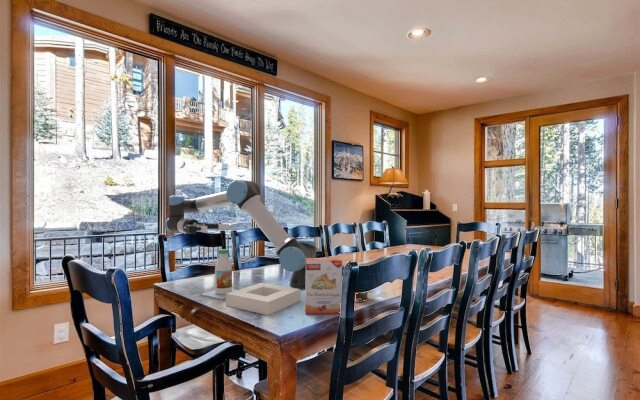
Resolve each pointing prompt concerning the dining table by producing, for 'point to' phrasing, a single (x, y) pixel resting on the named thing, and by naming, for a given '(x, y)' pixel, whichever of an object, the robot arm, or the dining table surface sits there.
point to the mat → (215, 295)
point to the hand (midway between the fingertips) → (217, 228)
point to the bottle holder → (263, 298)
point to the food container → (361, 296)
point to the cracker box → (323, 285)
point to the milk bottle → (223, 273)
